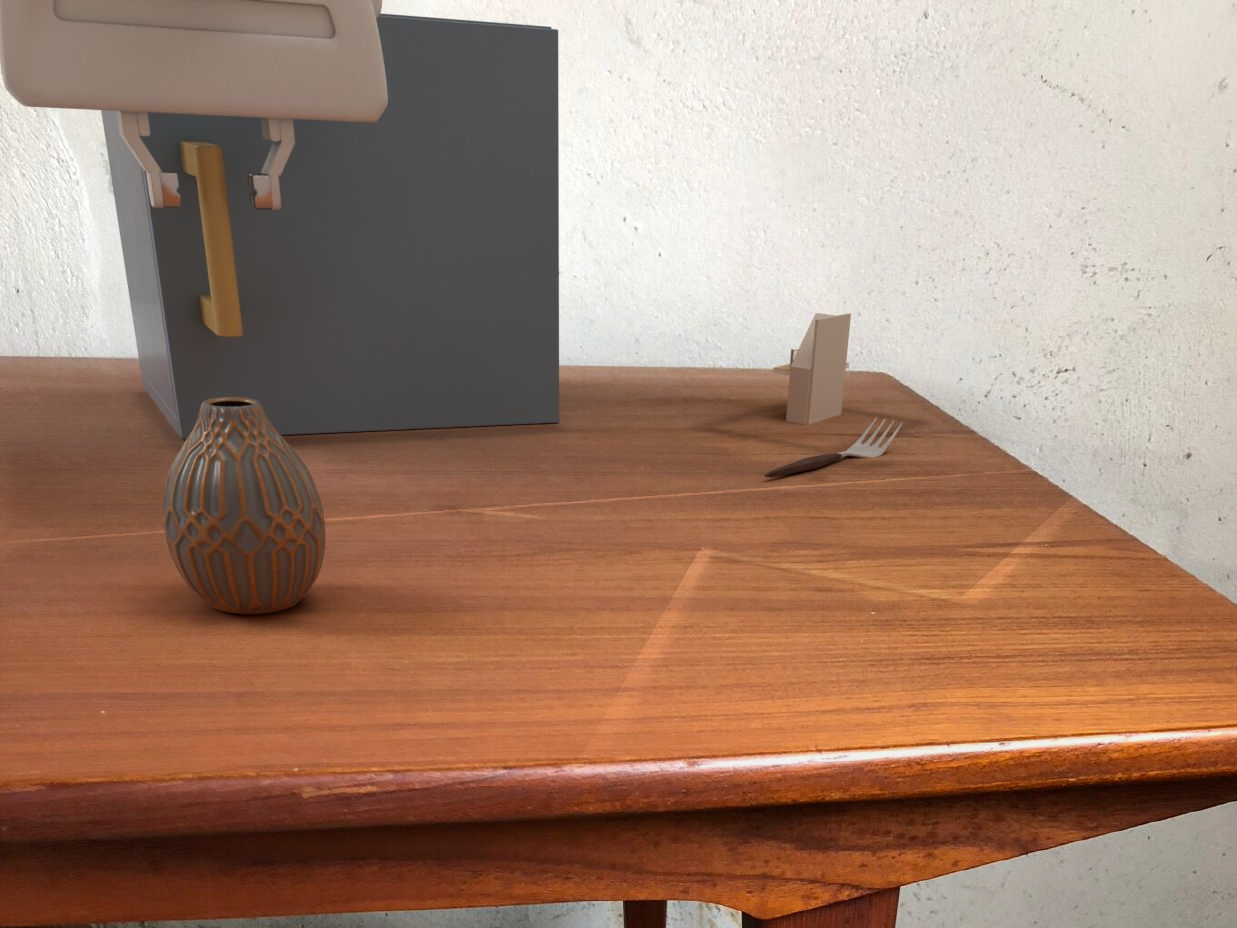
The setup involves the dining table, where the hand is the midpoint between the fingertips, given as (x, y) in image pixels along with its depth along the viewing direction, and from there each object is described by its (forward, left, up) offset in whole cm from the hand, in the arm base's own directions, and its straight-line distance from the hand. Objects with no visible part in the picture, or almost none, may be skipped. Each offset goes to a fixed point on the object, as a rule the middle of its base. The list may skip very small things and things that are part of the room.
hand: (216, 208), depth 79 cm
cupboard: (+10, +16, -14) cm, 24 cm away
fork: (+37, -10, -14) cm, 41 cm away
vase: (-5, -28, -14) cm, 32 cm away
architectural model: (+44, +4, -14) cm, 46 cm away
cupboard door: (+10, +3, -14) cm, 18 cm away
